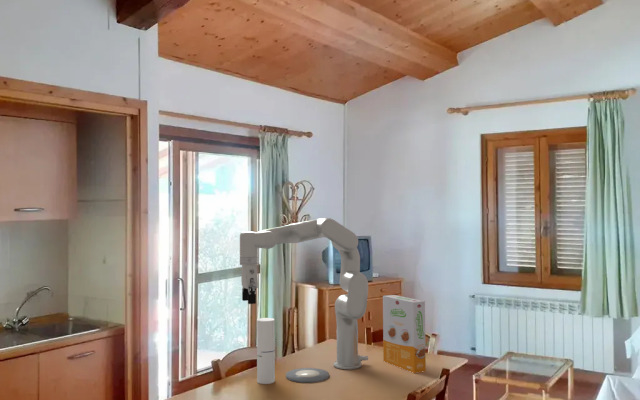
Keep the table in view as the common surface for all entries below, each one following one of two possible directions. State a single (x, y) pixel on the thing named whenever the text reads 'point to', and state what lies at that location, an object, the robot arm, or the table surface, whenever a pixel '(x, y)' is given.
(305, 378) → the plate
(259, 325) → the cylindrical container
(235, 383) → the table surface
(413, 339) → the cereal box
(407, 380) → the table surface
